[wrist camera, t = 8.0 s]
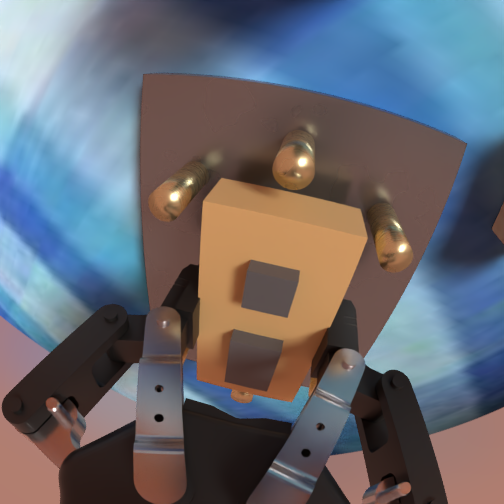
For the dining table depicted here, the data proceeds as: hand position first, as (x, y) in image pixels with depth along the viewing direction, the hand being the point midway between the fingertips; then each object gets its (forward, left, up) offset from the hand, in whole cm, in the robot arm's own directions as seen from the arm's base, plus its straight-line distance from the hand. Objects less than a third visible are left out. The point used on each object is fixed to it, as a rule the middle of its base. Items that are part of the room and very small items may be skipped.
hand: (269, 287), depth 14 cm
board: (0, 0, +1) cm, 1 cm away
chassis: (0, 0, -2) cm, 2 cm away
